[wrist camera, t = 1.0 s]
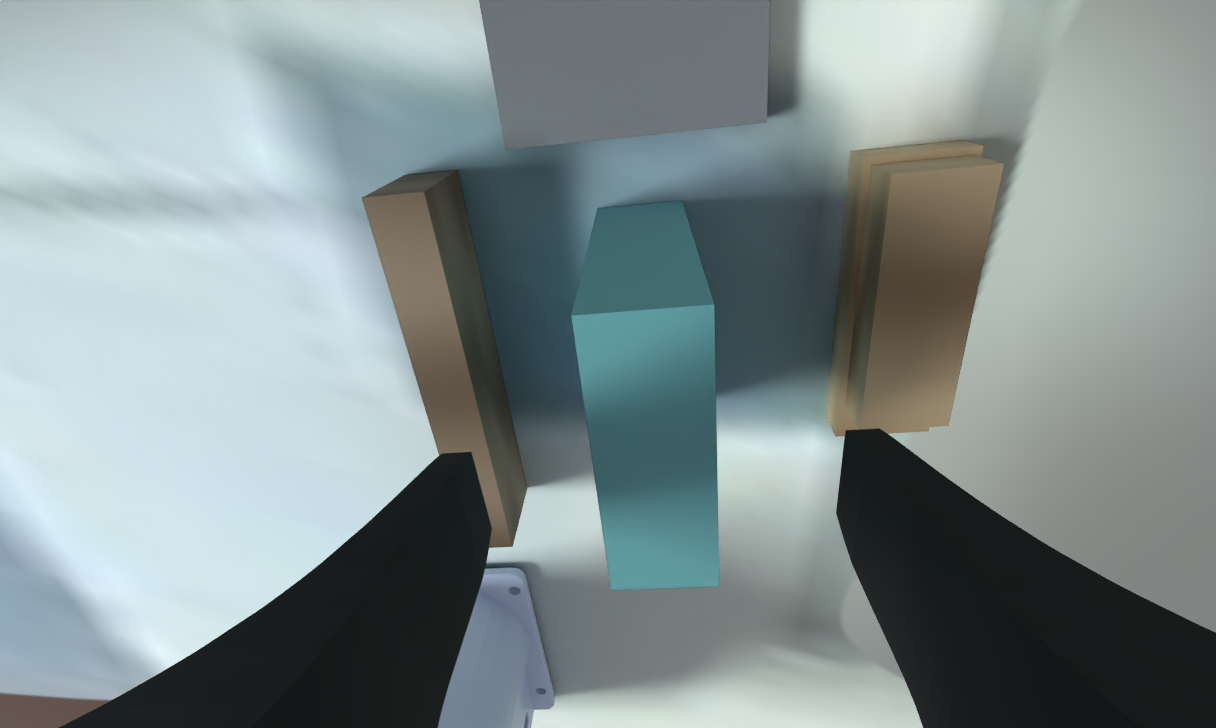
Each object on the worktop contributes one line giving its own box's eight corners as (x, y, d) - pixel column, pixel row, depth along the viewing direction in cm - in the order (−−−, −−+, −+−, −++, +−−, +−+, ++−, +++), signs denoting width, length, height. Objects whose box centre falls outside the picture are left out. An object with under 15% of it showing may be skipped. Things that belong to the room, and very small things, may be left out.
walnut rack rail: (527, 488, 22) (512, 546, 20) (486, 490, 23) (467, 548, 20) (457, 169, 17) (424, 191, 14) (404, 175, 17) (361, 198, 14)
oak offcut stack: (910, 408, 20) (948, 457, 18) (823, 413, 21) (849, 462, 18) (957, 138, 16) (1014, 154, 14) (847, 149, 16) (884, 166, 14)
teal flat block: (689, 401, 20) (719, 586, 13) (619, 405, 20) (610, 589, 13) (681, 200, 17) (714, 304, 10) (597, 208, 17) (571, 315, 10)
